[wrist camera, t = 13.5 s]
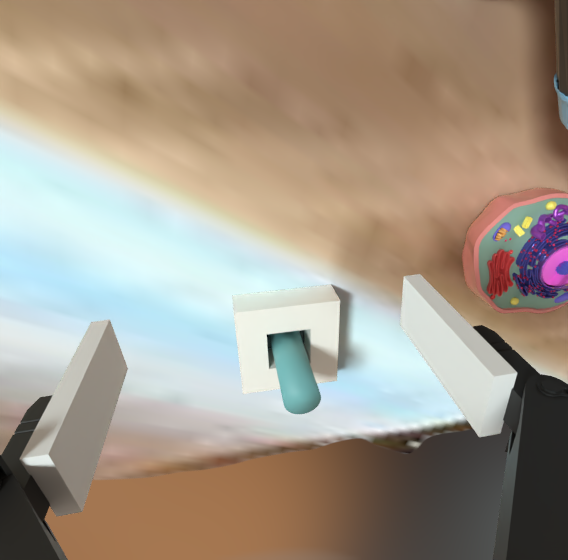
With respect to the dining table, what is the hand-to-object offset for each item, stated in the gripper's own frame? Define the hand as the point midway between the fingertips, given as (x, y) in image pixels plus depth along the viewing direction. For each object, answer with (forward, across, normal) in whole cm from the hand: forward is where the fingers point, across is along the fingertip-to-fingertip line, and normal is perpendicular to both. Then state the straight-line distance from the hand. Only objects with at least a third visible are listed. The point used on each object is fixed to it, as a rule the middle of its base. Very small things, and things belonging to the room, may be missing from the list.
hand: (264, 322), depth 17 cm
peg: (+32, +3, -24) cm, 40 cm away
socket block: (+32, +3, -24) cm, 40 cm away
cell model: (+32, +36, -14) cm, 50 cm away
